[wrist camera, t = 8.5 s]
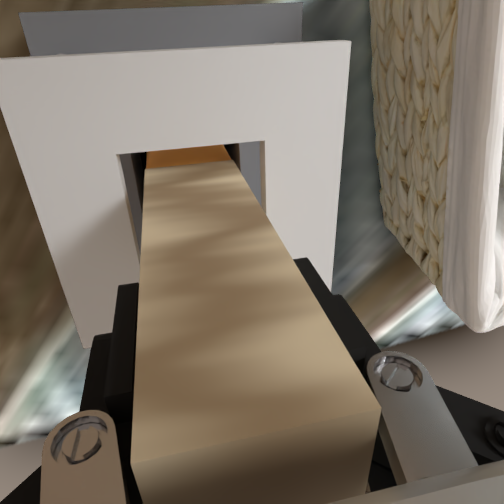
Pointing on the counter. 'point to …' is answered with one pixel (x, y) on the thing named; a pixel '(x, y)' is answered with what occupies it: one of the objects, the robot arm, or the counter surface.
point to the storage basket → (444, 144)
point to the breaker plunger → (186, 156)
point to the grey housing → (171, 128)
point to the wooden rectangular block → (237, 358)
